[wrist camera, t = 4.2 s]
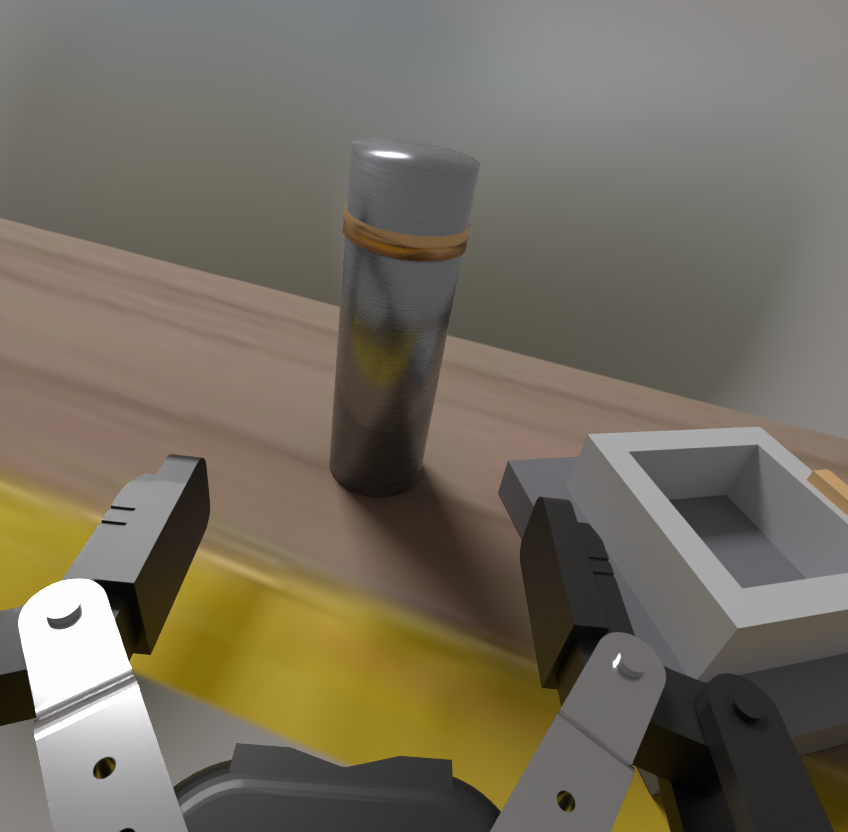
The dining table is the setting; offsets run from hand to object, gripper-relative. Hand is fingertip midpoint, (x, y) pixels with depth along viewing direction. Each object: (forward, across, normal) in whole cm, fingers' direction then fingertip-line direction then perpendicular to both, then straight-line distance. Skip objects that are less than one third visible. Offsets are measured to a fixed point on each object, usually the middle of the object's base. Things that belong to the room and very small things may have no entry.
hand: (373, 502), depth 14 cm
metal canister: (+11, 0, -8) cm, 13 cm away
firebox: (+5, +13, -8) cm, 16 cm away
